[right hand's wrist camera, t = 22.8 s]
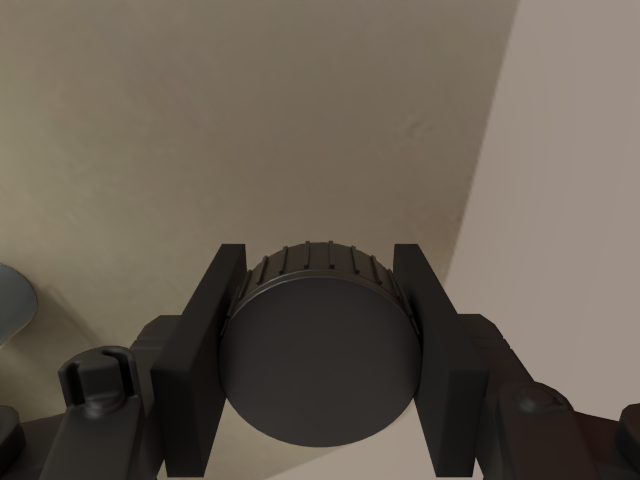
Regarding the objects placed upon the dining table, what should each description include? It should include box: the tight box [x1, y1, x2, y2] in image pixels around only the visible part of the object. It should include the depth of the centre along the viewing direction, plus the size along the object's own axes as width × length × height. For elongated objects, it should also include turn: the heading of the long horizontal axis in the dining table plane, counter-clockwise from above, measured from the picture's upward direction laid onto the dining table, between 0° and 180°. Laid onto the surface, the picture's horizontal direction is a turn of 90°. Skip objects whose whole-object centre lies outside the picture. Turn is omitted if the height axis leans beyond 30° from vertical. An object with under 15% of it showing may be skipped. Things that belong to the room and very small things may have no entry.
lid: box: [217, 241, 422, 447], centre depth 11 cm, size 5×5×2 cm
